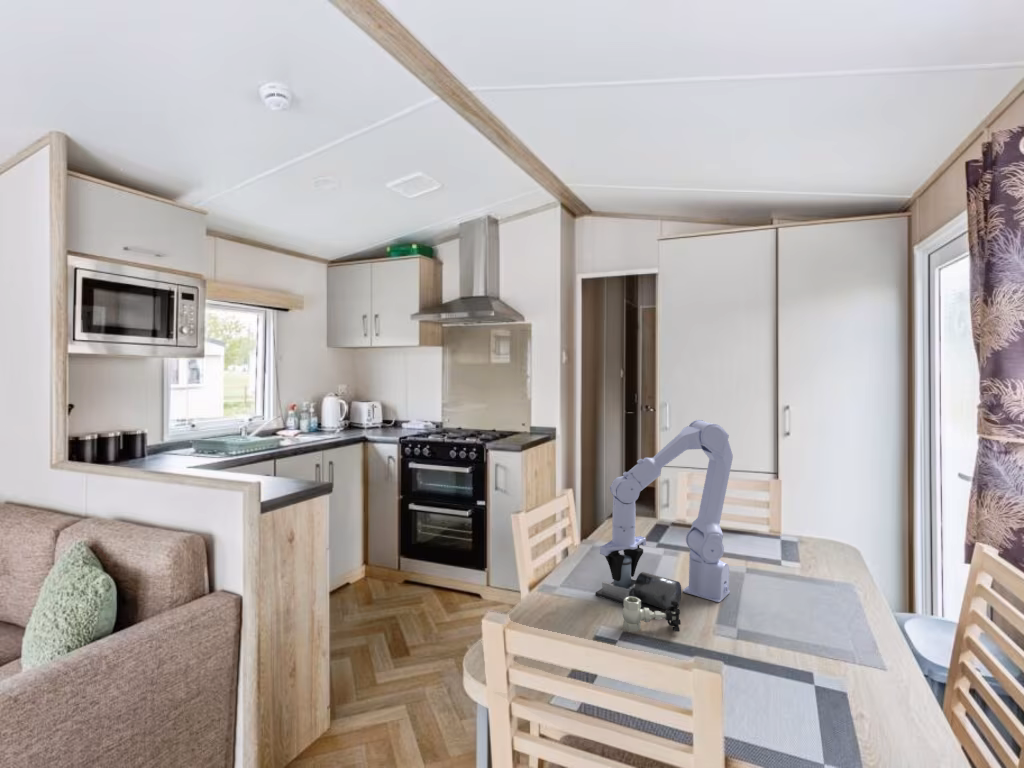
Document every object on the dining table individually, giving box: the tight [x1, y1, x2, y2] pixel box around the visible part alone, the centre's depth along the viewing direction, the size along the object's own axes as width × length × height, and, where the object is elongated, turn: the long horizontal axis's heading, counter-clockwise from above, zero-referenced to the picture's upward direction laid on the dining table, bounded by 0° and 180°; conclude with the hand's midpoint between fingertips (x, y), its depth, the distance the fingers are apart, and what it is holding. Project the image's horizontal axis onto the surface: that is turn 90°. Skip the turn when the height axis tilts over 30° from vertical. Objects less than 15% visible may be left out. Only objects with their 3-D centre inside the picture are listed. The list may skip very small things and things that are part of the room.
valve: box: [622, 596, 682, 633], centre depth 122 cm, size 7×7×12 cm
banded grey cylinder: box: [612, 553, 632, 588], centre depth 140 cm, size 5×5×7 cm
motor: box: [595, 571, 683, 611], centre depth 137 cm, size 19×10×7 cm, turn 50°
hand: (623, 577), depth 140 cm, fingers closed on banded grey cylinder, 4 cm apart
